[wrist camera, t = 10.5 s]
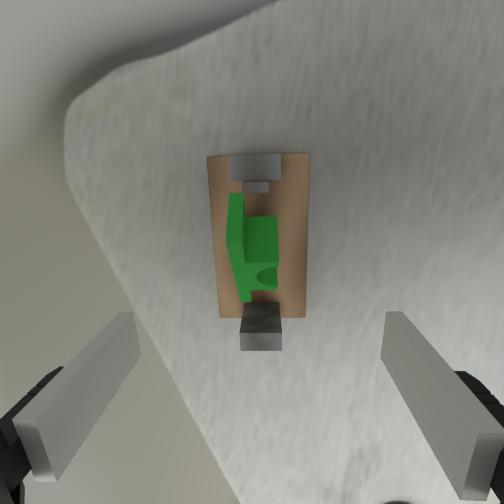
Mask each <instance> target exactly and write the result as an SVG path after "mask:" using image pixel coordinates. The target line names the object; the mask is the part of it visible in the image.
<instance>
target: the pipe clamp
mask: <svg viewBox="0 0 504 504" xmlns="http://www.w3.org/2000/svg"><path fill="white" fill-rule="evenodd" d="M226 246H227V250H228V254H229V258H230V262H231V266H232V270H233V274H234V278H235V282H236V286H237V290H238V294H239V298H240V302H252V290H278V275H277V267H279V248H278V228H277V216H265V217H246V211H245V202H244V194H243V193H229V197H228V213H227V228H226Z"/></svg>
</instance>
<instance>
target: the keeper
mask: <svg viewBox="0 0 504 504" xmlns="http://www.w3.org/2000/svg"><path fill="white" fill-rule="evenodd" d="M207 168H208V180H209V192H210V204H211V216H212V228H213V241H214V253H215V265H216V277H217V289H218V301H219V314H220V318H242V321H241V327H240V348H241V351H282V329H281V318H294V317H305V311H306V271H307V230H308V190H309V153H300V154H281V153H273V154H247V155H229V156H224V157H207ZM229 193H243V194H244V202H245V211H246V217H265V216H277V228H278V248H279V267H277V275H278V290H252V302H240V298H239V294H238V290H237V286H236V282H235V278H234V274H233V270H232V266H231V262H230V258H229V254H228V250H227V246H226V228H227V213H228V197H229Z"/></svg>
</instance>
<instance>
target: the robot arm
mask: <svg viewBox="0 0 504 504" xmlns="http://www.w3.org/2000/svg"><path fill="white" fill-rule="evenodd" d="M140 356H141V351H140V346H139V341H138V336H137V330H136V325H135V319H134V314H133V312H119V313H118V314H117V315H116V316H115V317H114V318H113V319H112V320H111V321H110V322H109V323H108V324H107V325H106V326H105V327H104V328H103V329H102V330H101V331H100V332H99V333H98V334H97V335H96V336H95V337H94V338H93V339H92V340H91V341H90V342H89V343H88V344H87V345H86V346H85V347H84V348H83V349H82V350H81V351H80V352H79V353H78V354H77V355H76V356H75V357H74V358H73V359H72V360H71V361H70V362H69V363H68V364H67V365H66V366H65V367H58V368H57V369H55V370H54V371H52V372H51V373H49V374H47V375H46V376H45V377H44V378H43V379H42V380H41V381H40V382H39V383H38V384H37V385H36V387H33V389H31V390H30V391H29V392H28V393H27V395H25V396H24V397H23V398H22V399H21V400H20V401H19V402H18V403H17V404H16V405H15V406H14V407H13V408H12V409H11V410H9V412H7V413H6V414H5V415H4V416H3V417H2V418H1V419H0V504H24V495H25V487H24V484H23V481H22V480H23V479H24V477H25V476H26V475H27V474H28V472H29V471H30V470H32V473H33V475H34V478H35V481H39V482H57V481H58V480H59V478H60V477H61V475H62V474H63V472H64V471H65V469H66V468H67V466H68V465H69V463H70V462H71V460H72V458H73V457H74V456H75V454H76V452H77V451H78V450H79V448H80V447H81V445H82V444H83V442H84V441H85V439H86V438H87V436H88V435H89V433H90V431H91V430H92V428H93V427H94V425H95V424H96V423H97V421H98V419H99V418H100V416H101V415H102V413H103V412H104V410H105V409H106V407H107V406H108V404H109V403H110V401H111V400H112V398H113V397H114V395H115V394H116V392H117V391H118V389H119V388H120V386H121V385H122V383H123V382H124V380H125V379H126V377H127V376H128V374H129V373H130V371H131V370H132V368H133V367H134V365H135V364H136V362H137V361H138V359H139V358H140ZM381 359H382V361H383V363H384V364H385V366H386V368H387V370H388V372H389V373H390V375H391V377H392V379H393V381H394V382H395V384H396V386H397V388H398V390H399V391H400V393H401V395H402V397H403V399H404V400H405V402H406V404H407V406H408V408H409V409H410V411H411V413H412V415H413V416H414V418H415V420H416V422H417V424H418V425H419V427H420V429H421V431H422V433H423V434H424V436H425V438H426V440H427V442H428V443H429V445H430V447H431V449H432V451H433V452H434V454H435V456H436V458H437V460H438V461H439V463H440V465H441V467H442V469H443V470H444V472H445V474H446V476H447V477H448V479H449V481H450V483H451V485H452V486H453V488H454V490H455V492H456V494H457V495H458V497H459V499H460V500H474V501H486V500H487V497H488V494H489V491H490V487H491V488H492V490H493V491H494V493H495V494H496V496H497V497H498V499H499V500H500V504H504V406H503V405H502V404H500V402H499V401H498V400H497V399H496V398H495V397H494V395H491V392H490V391H489V390H488V389H487V388H486V387H485V386H484V385H483V384H482V383H481V382H480V381H479V380H478V379H476V378H475V377H473V376H472V375H470V374H469V373H467V372H466V371H453V370H452V368H451V367H450V366H449V365H448V364H447V363H446V362H445V360H444V359H443V358H442V357H441V356H440V355H439V354H438V352H437V351H436V350H435V349H434V348H433V347H432V345H431V344H430V343H429V342H428V341H427V340H426V339H425V337H424V336H423V335H422V334H421V333H420V332H419V330H418V329H417V328H416V327H415V326H414V325H413V324H412V322H411V321H410V320H409V319H408V318H407V317H406V316H405V314H404V313H403V312H386V318H385V326H384V334H383V342H382V350H381Z"/></svg>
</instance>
